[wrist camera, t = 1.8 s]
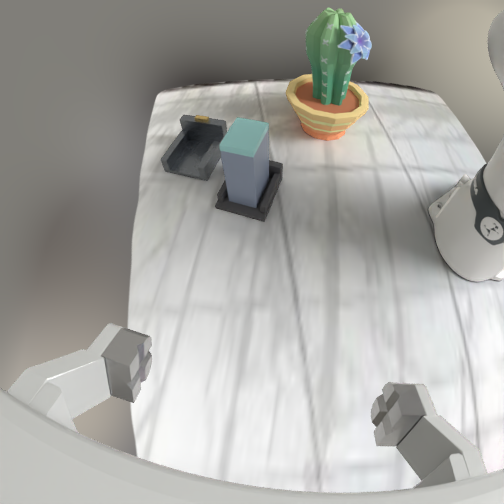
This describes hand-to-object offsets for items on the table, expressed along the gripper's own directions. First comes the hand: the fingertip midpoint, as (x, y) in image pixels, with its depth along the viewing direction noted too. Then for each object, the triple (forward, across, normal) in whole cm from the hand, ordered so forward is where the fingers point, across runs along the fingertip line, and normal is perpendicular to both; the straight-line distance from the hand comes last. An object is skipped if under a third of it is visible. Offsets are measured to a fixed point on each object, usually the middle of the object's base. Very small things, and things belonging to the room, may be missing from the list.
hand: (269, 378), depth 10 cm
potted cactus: (+56, -6, -10) cm, 57 cm away
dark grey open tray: (+42, +5, +3) cm, 42 cm away
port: (+48, +16, 0) cm, 50 cm away
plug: (+41, +5, +3) cm, 41 cm away
